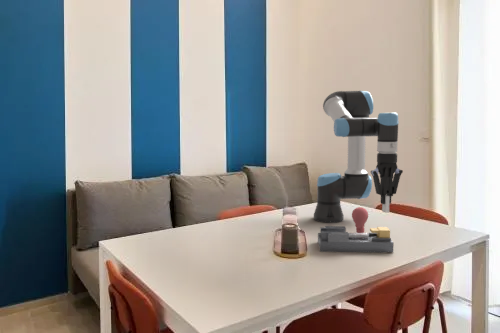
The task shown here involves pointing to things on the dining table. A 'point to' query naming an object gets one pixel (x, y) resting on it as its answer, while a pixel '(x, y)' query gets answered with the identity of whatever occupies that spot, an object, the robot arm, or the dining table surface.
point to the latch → (381, 232)
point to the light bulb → (360, 218)
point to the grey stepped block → (351, 241)
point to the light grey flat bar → (358, 235)
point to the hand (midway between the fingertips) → (385, 211)
